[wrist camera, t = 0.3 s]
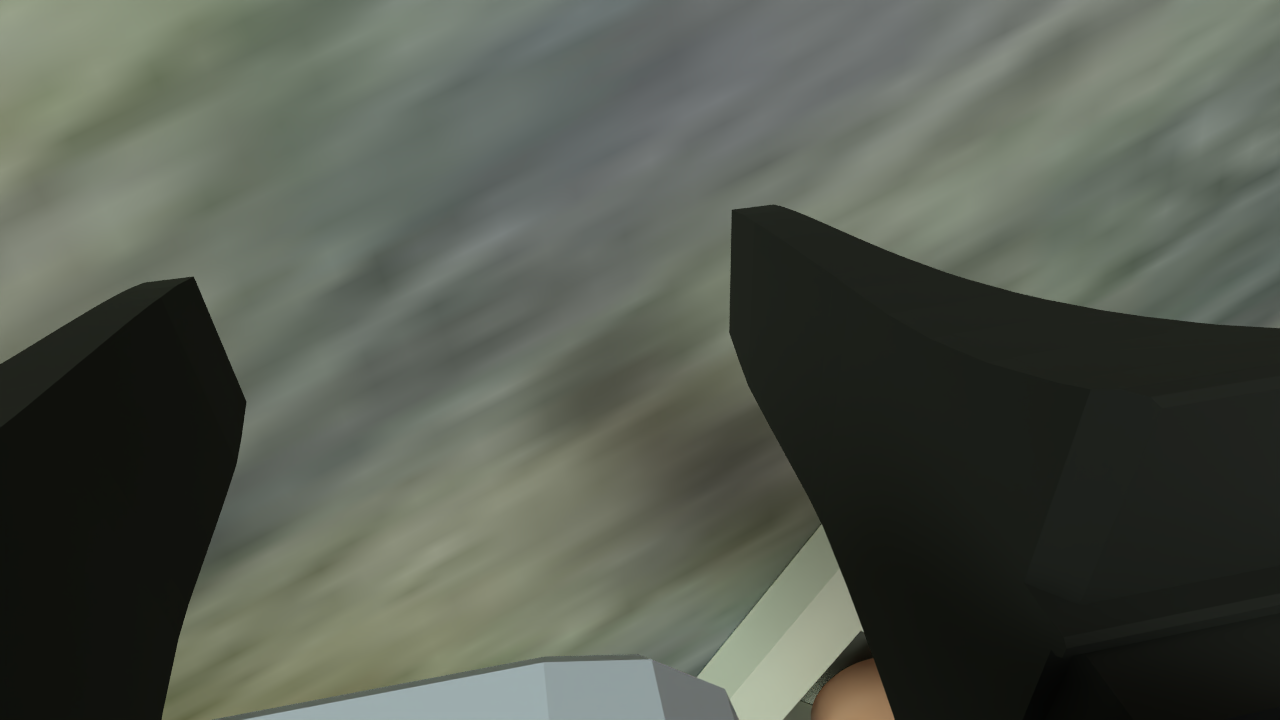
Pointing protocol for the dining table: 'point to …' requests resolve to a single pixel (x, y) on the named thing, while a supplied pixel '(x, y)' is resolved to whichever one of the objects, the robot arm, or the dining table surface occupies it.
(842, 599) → the panel
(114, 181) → the dining table surface
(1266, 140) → the dining table surface
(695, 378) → the dining table surface
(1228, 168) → the dining table surface
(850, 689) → the terracotta button
